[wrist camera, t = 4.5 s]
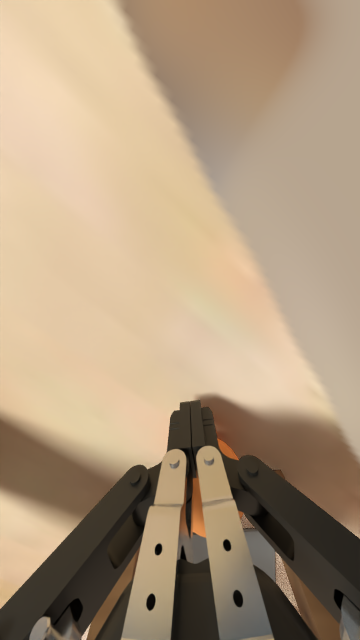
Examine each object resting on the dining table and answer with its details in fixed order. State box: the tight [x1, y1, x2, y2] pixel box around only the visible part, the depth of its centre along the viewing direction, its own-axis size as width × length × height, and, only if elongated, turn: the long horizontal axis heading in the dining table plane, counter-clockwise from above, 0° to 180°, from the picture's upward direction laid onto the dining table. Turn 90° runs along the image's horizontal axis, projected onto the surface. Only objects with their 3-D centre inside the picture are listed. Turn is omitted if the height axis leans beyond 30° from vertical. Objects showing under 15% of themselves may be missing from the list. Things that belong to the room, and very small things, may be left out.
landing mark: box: [192, 529, 276, 583], centre depth 20 cm, size 13×13×1 cm
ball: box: [193, 438, 243, 538], centre depth 13 cm, size 6×6×6 cm
